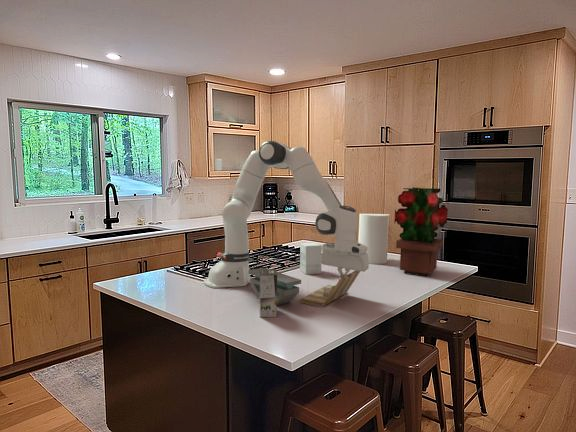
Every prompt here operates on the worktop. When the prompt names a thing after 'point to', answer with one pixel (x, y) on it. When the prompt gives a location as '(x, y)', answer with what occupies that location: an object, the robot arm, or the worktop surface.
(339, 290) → the plank
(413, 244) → the potted plant
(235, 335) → the worktop surface
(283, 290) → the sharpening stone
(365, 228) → the cylinder
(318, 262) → the supplement box
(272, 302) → the coffee box
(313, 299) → the light brown rectangular block
